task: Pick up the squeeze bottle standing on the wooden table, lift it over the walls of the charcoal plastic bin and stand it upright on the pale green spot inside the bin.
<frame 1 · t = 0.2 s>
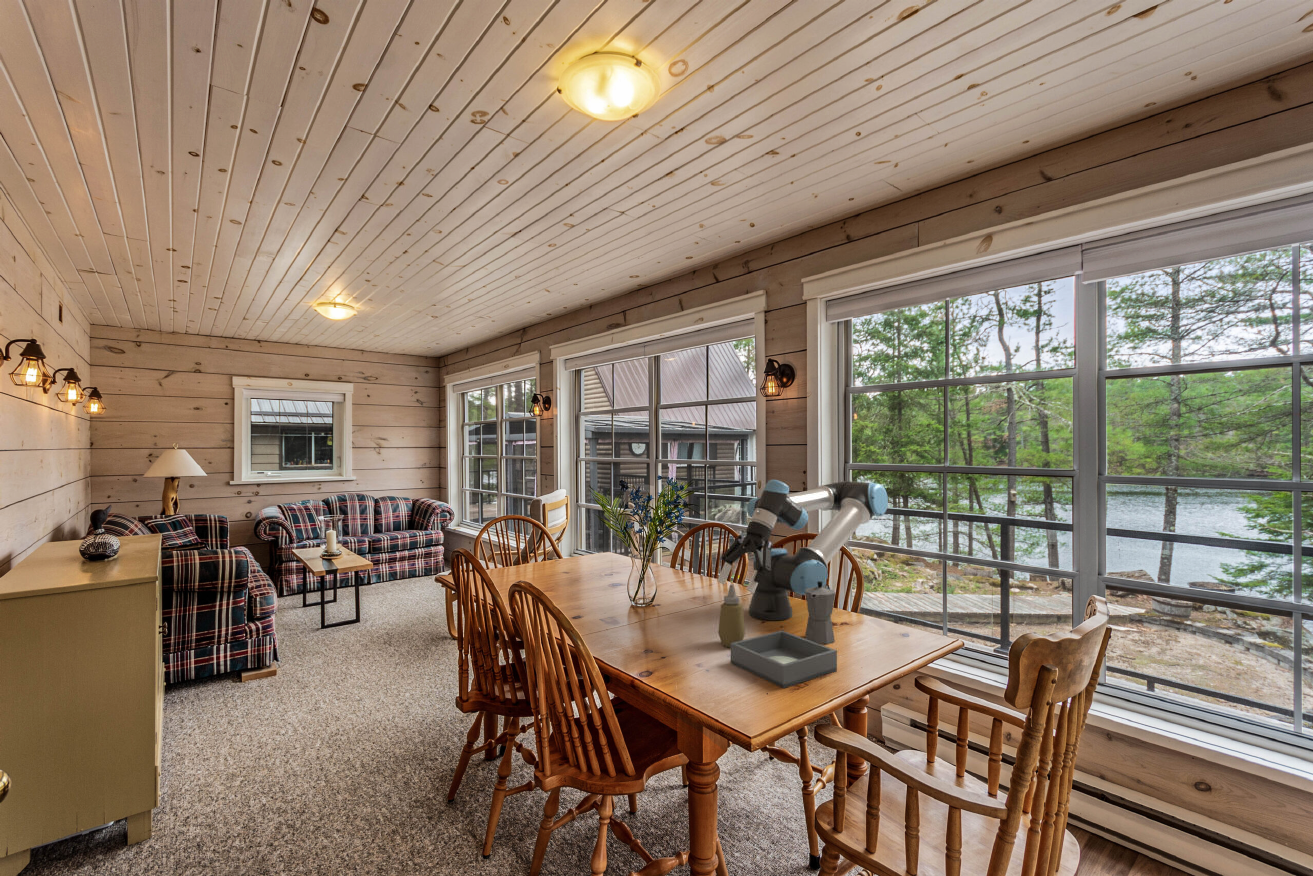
hand: (734, 587, 182), 16 cm above the table, tool tilted 30°, fingers open, 13 cm apart
squeeze bottle: (731, 645, 178), on the table
bin: (782, 667, 161), on the table
coffeepot: (820, 639, 184), on the table
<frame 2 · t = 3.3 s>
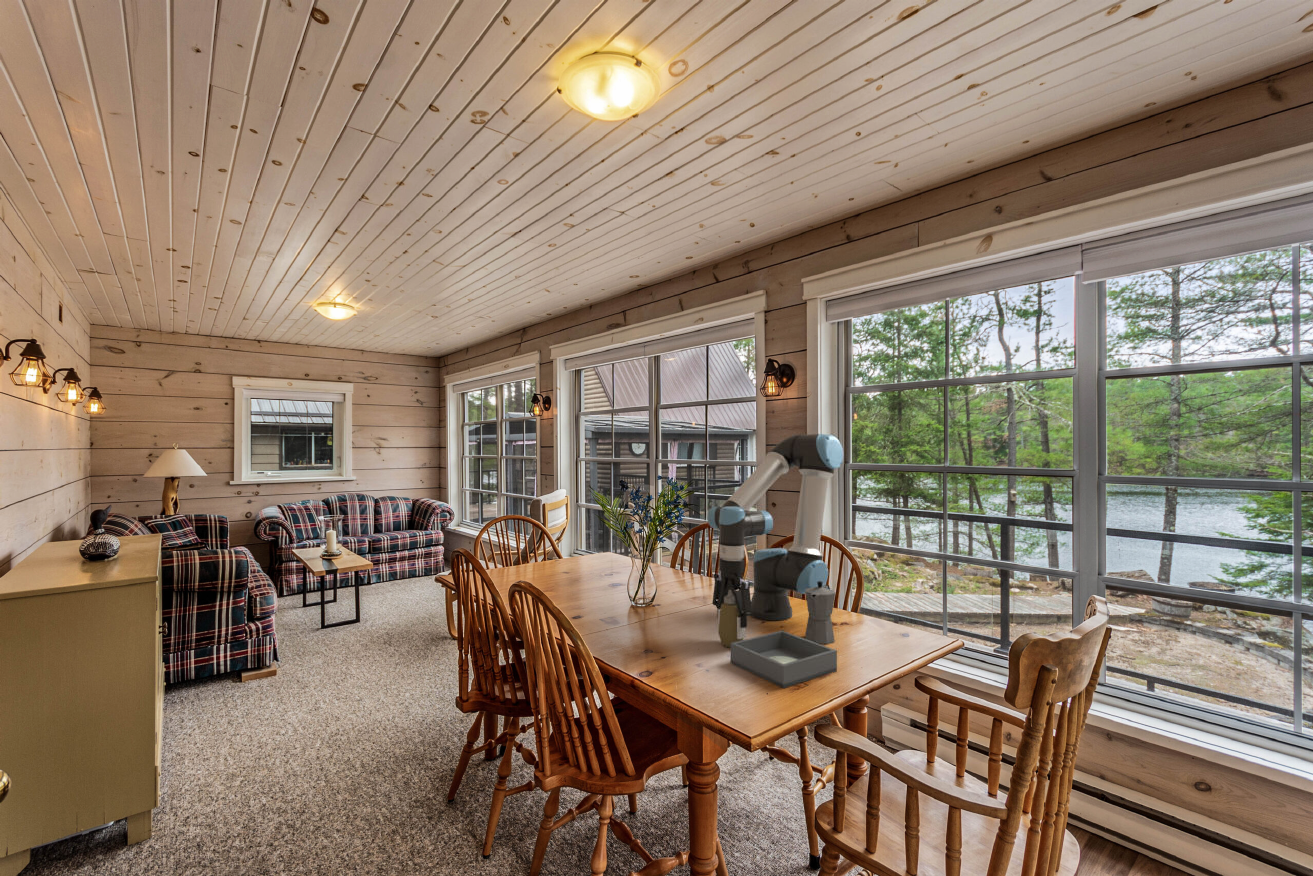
hand: (731, 633, 178), 3 cm above the table, tool pointing down, fingers closed on squeeze bottle, 8 cm apart
squeeze bottle: (731, 645, 178), on the table, touching gripper
everything else where it was.
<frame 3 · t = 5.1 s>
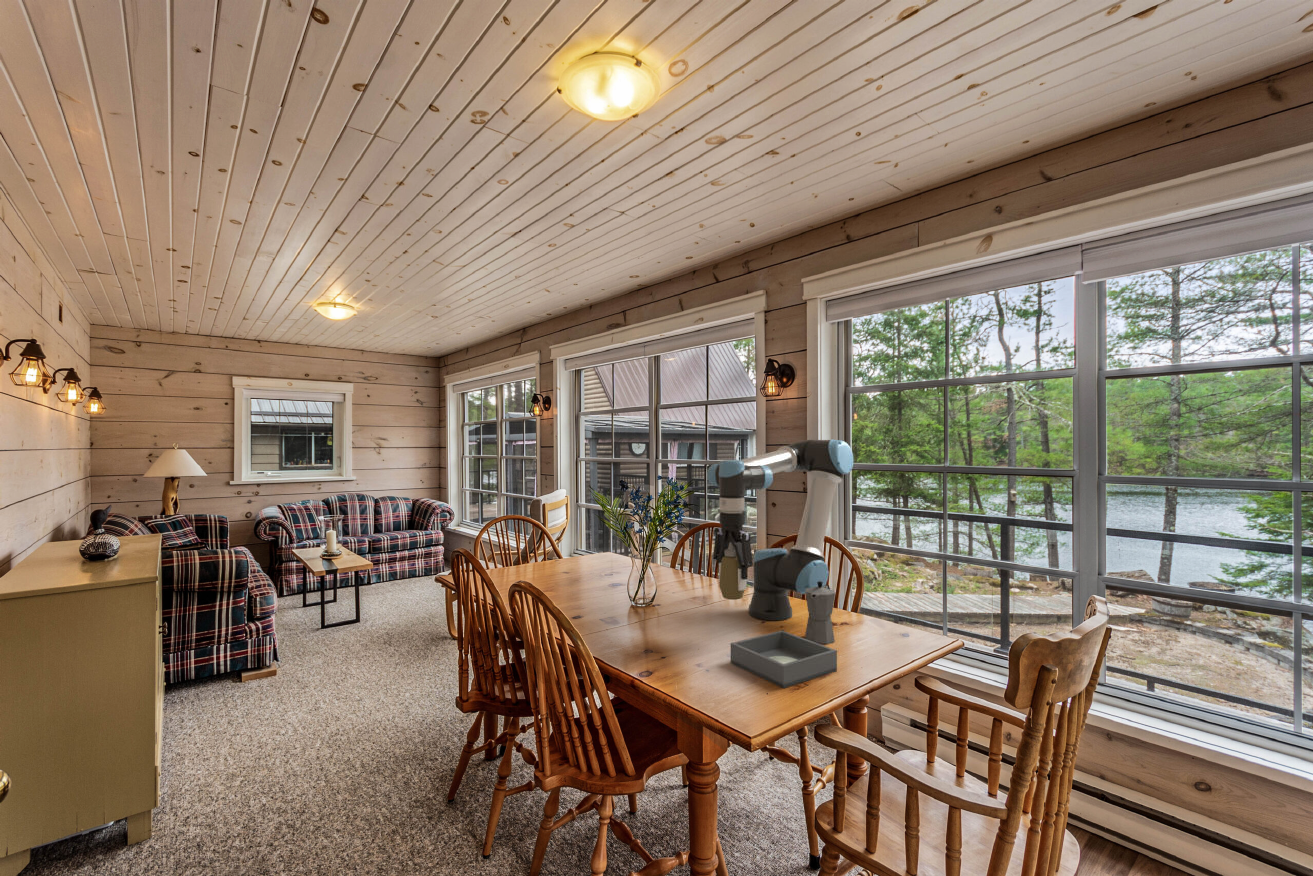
hand: (732, 586, 179), 17 cm above the table, tool pointing down, fingers closed on squeeze bottle, 8 cm apart
squeeze bottle: (732, 598, 179), point 14 cm above the table, touching gripper
everything else where it was.
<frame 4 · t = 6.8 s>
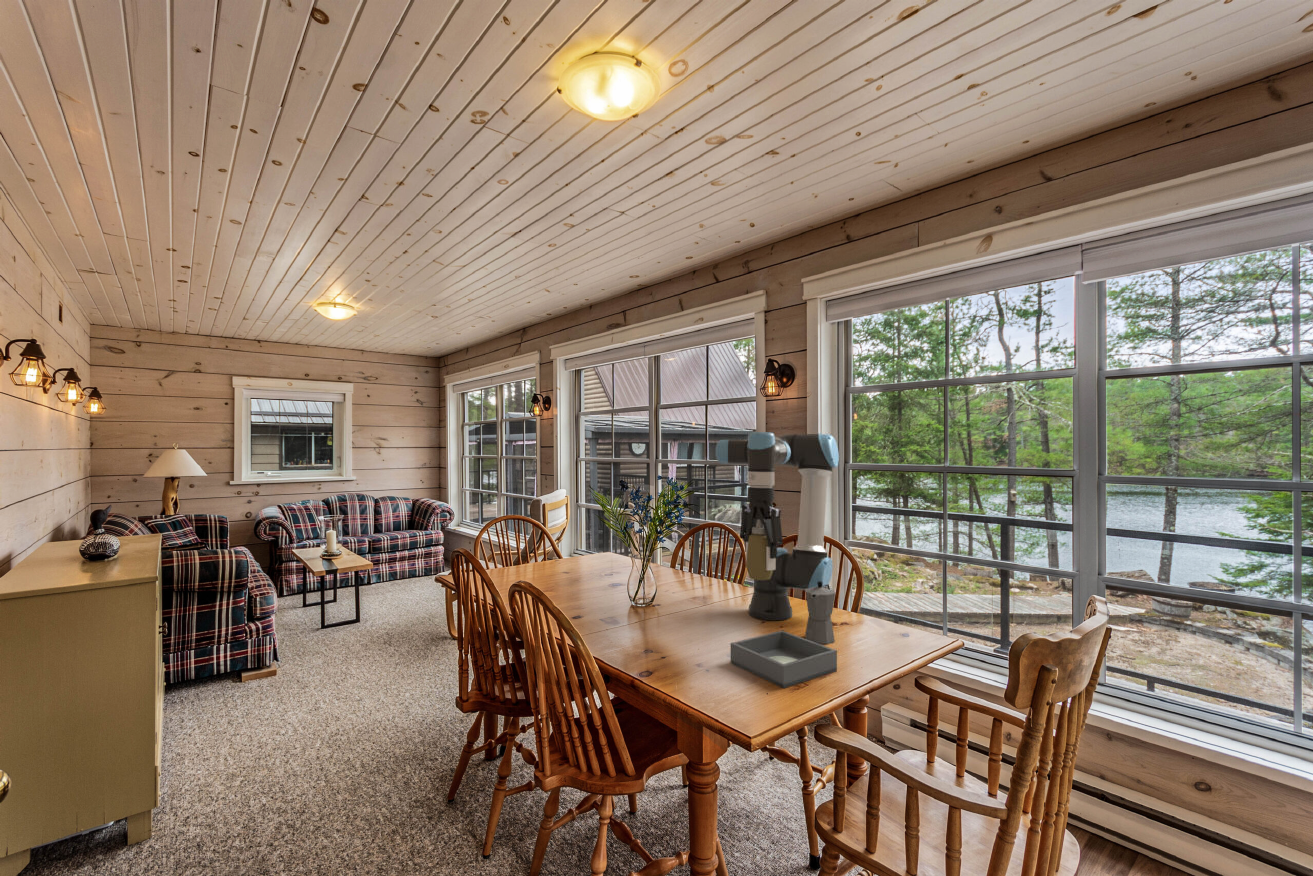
hand: (760, 567, 167), 26 cm above the table, tool pointing down, fingers closed on squeeze bottle, 8 cm apart
squeeze bottle: (759, 579, 167), point 22 cm above the table, touching gripper
everything else where it was.
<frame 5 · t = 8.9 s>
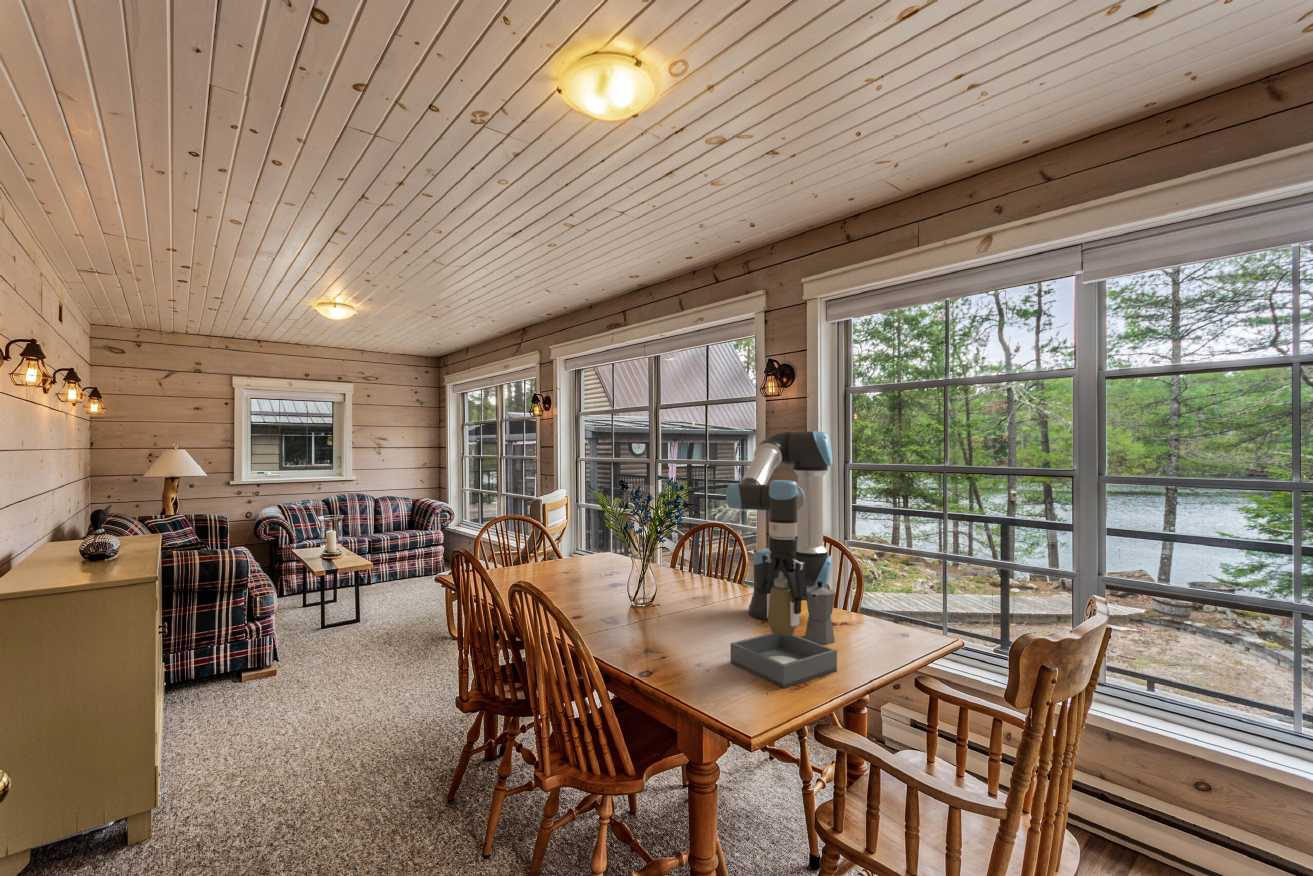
hand: (782, 620, 161), 13 cm above the table, tool pointing down, fingers closed on squeeze bottle, 8 cm apart
squeeze bottle: (782, 633, 161), point 9 cm above the table, touching gripper
everything else where it was.
when the fingers open (6 cm above the table, at t = 10.6 s): squeeze bottle drops 2 cm, resting on bin.
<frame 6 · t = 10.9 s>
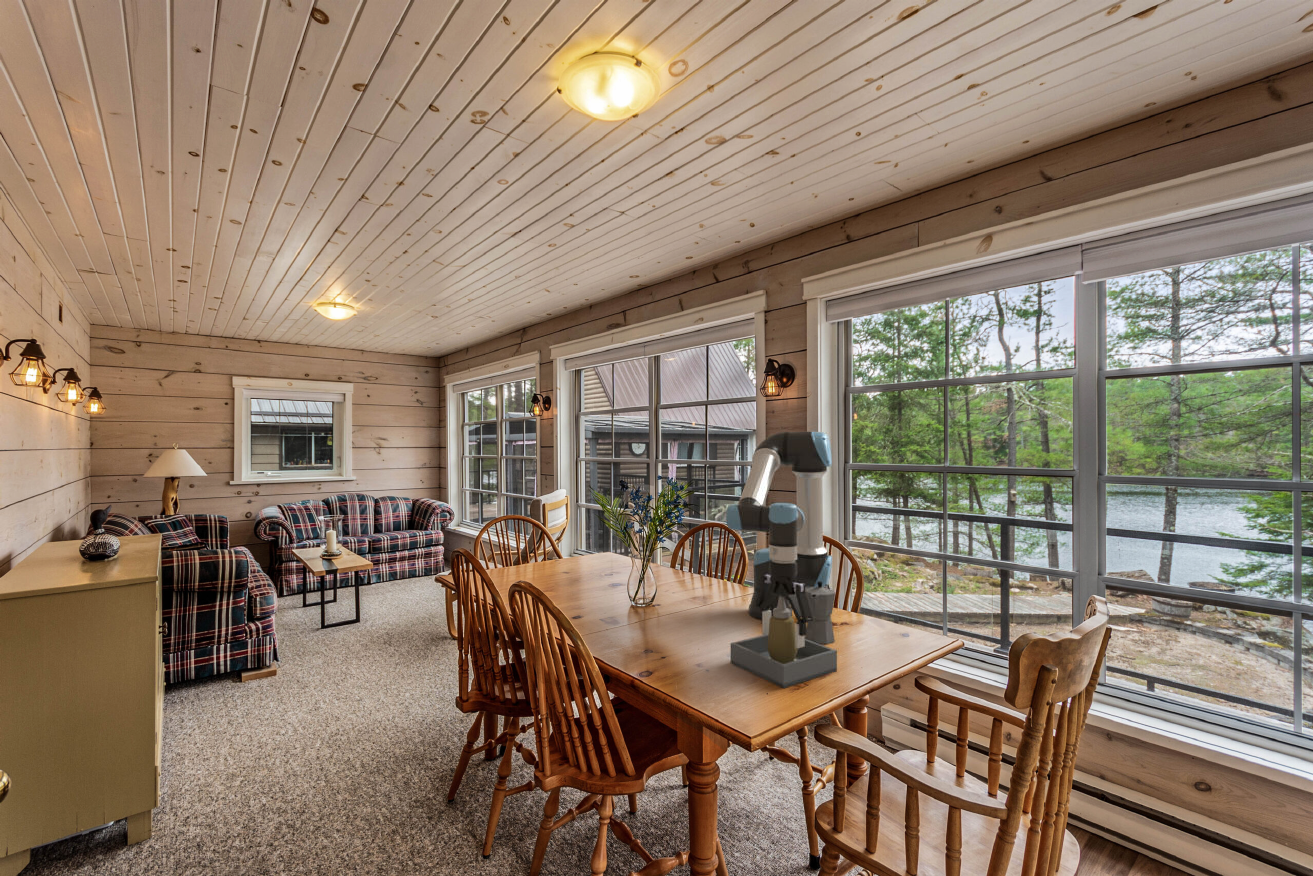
hand: (782, 640, 161), 7 cm above the table, tool pointing down, fingers open, 11 cm apart
squeeze bottle: (782, 662, 161), point 1 cm above the table, touching bin
everything else where it was.
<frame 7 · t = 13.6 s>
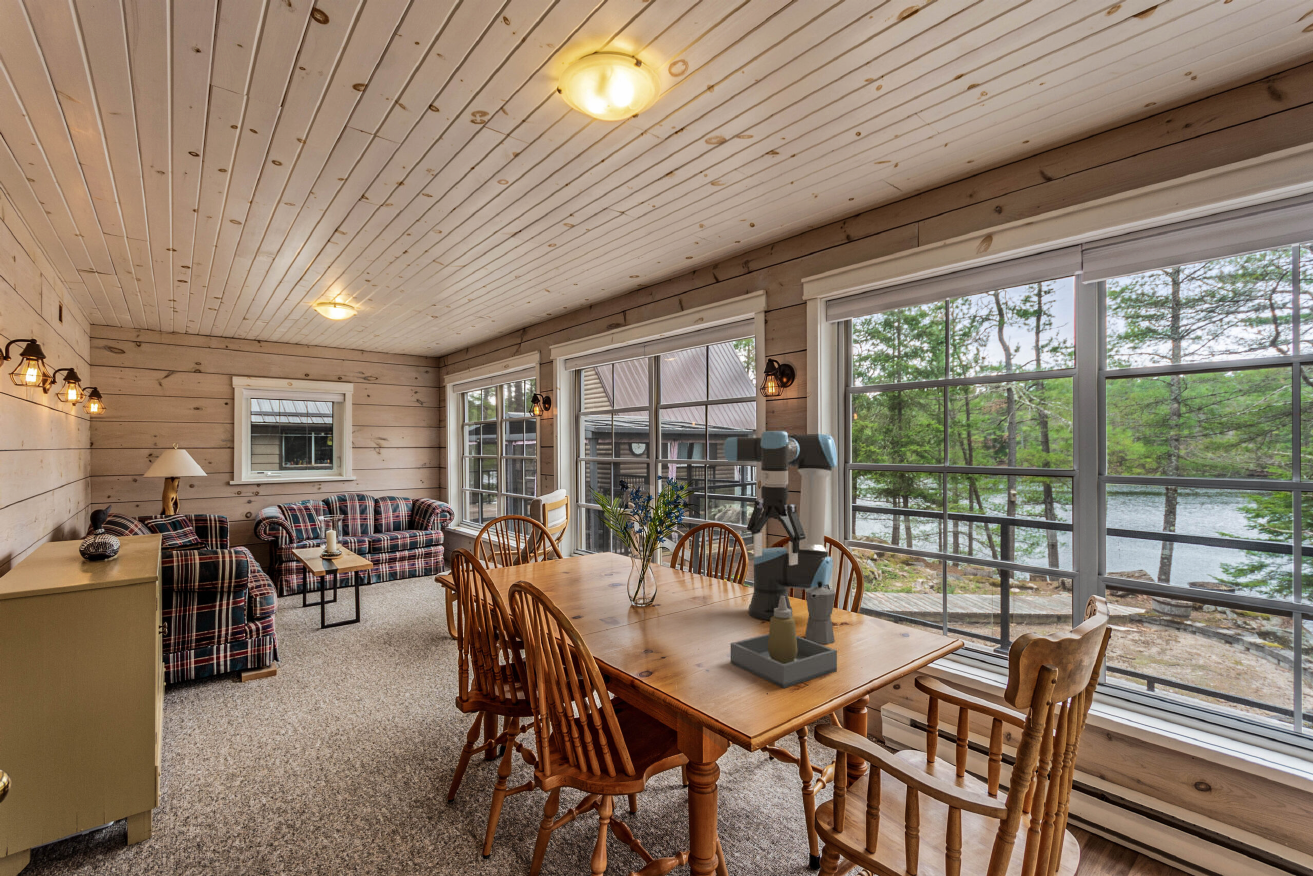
hand: (775, 560, 168), 28 cm above the table, tool pointing down, fingers open, 13 cm apart
nothing on the table moved.
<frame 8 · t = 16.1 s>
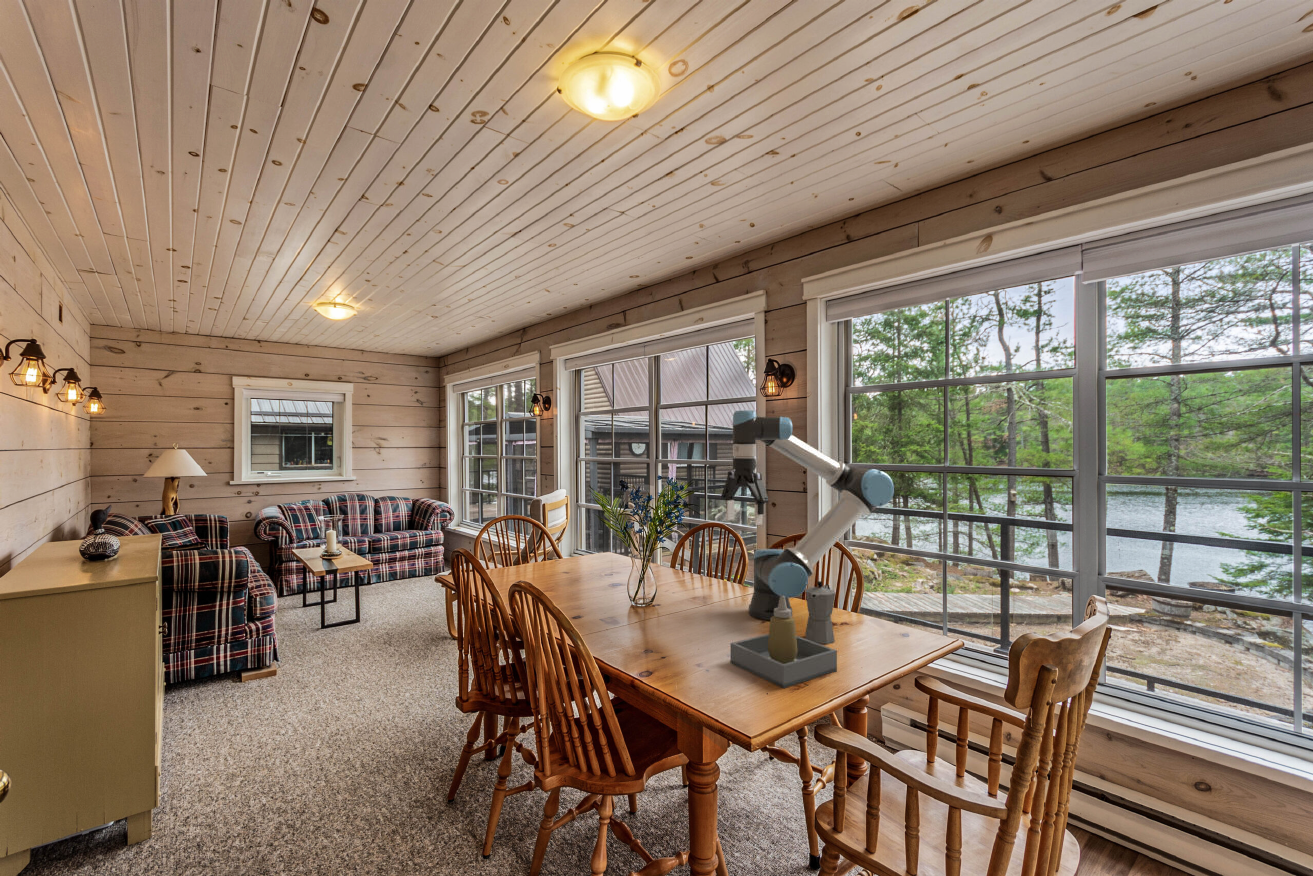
hand: (744, 522, 194), 35 cm above the table, tool pointing down, fingers open, 13 cm apart
nothing on the table moved.
at the end: squeeze bottle inside the target area on the bin (0.0 cm from its centre), point 1.0 cm above the bin's base; squeeze bottle tilted 0°; the gripper is holding nothing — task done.
